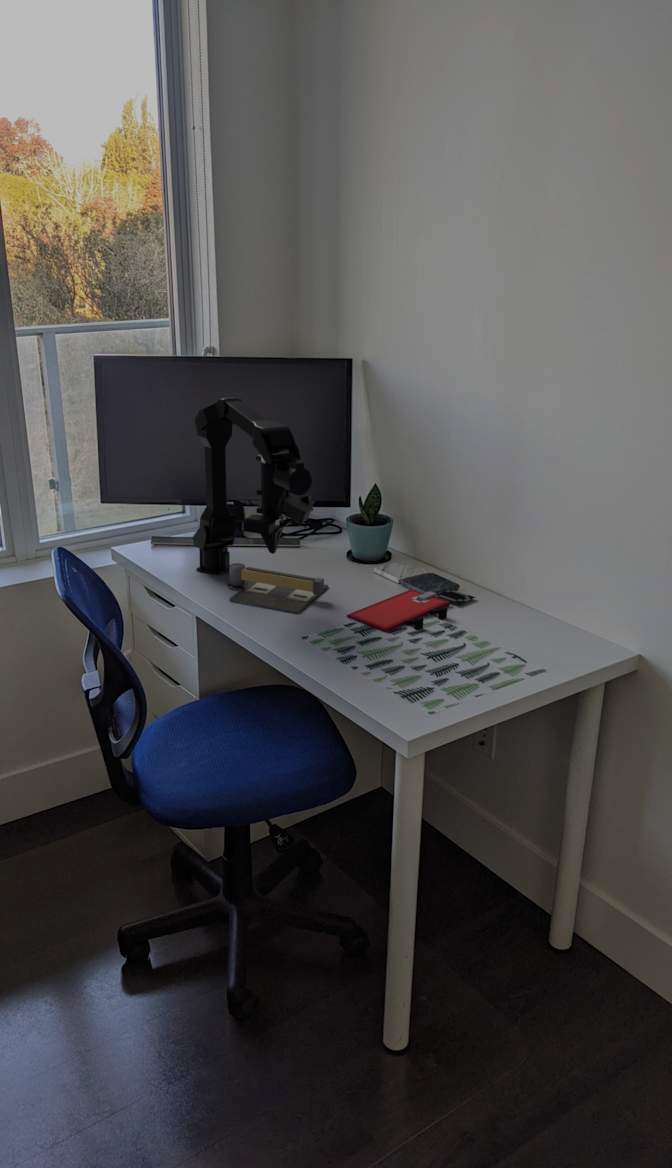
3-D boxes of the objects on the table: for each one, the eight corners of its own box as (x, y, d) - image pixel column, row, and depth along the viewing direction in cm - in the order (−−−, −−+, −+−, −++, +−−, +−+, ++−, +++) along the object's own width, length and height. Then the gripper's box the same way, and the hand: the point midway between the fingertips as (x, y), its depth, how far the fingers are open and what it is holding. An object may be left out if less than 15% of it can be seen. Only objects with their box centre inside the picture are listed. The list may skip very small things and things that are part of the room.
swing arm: (227, 584, 214) (226, 566, 212) (234, 579, 217) (233, 562, 215) (318, 600, 206) (318, 582, 205) (324, 595, 209) (324, 577, 208)
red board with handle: (482, 603, 211) (430, 586, 221) (482, 591, 210) (431, 575, 220) (399, 640, 191) (346, 620, 201) (399, 628, 190) (347, 608, 200)
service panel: (210, 597, 208) (210, 593, 208) (245, 573, 224) (245, 569, 223) (298, 613, 201) (298, 610, 201) (328, 587, 217) (328, 583, 216)
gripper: (290, 499, 185) (288, 571, 191) (324, 479, 202) (322, 546, 207) (240, 492, 189) (241, 563, 195) (278, 473, 205) (277, 539, 211)
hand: (272, 553), depth 202 cm, fingers closed
